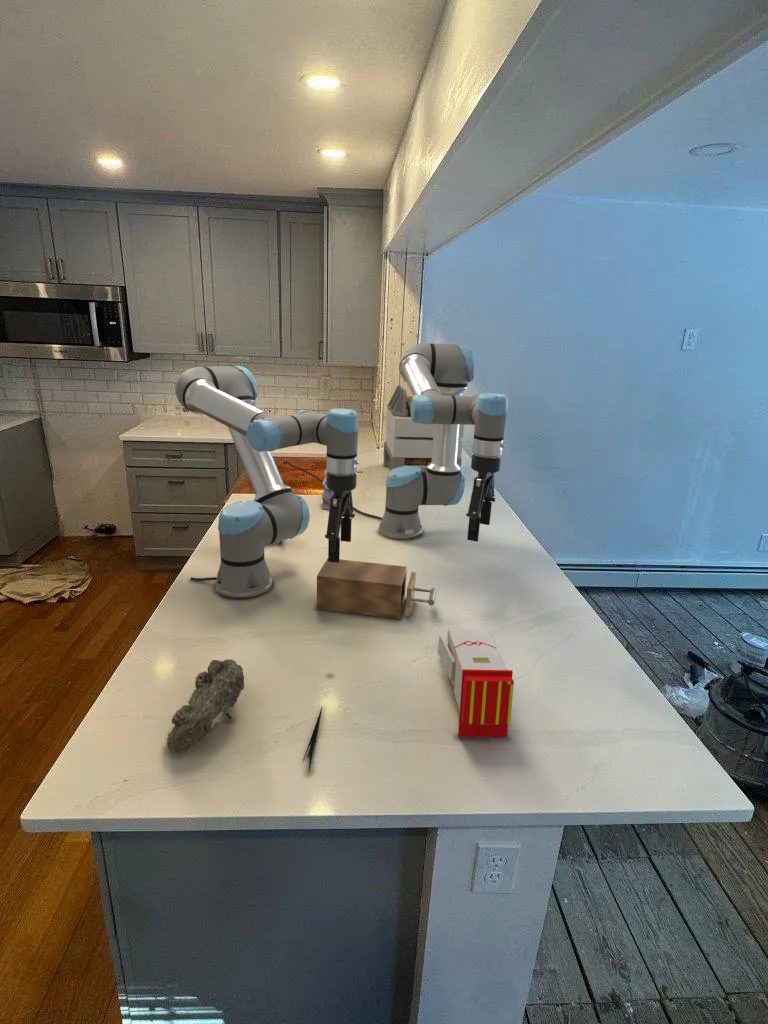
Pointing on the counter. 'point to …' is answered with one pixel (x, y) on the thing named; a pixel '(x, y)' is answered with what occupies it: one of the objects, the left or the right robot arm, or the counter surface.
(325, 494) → the figurine
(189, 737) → the fossil
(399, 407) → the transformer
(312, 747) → the feather
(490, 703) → the toy
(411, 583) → the drawer
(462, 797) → the counter surface
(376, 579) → the cabinet
